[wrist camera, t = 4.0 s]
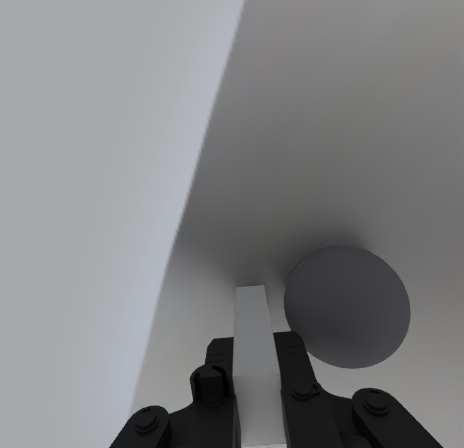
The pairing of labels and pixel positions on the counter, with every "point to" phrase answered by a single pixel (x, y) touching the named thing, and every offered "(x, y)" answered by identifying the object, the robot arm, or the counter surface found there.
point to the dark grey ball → (347, 307)
